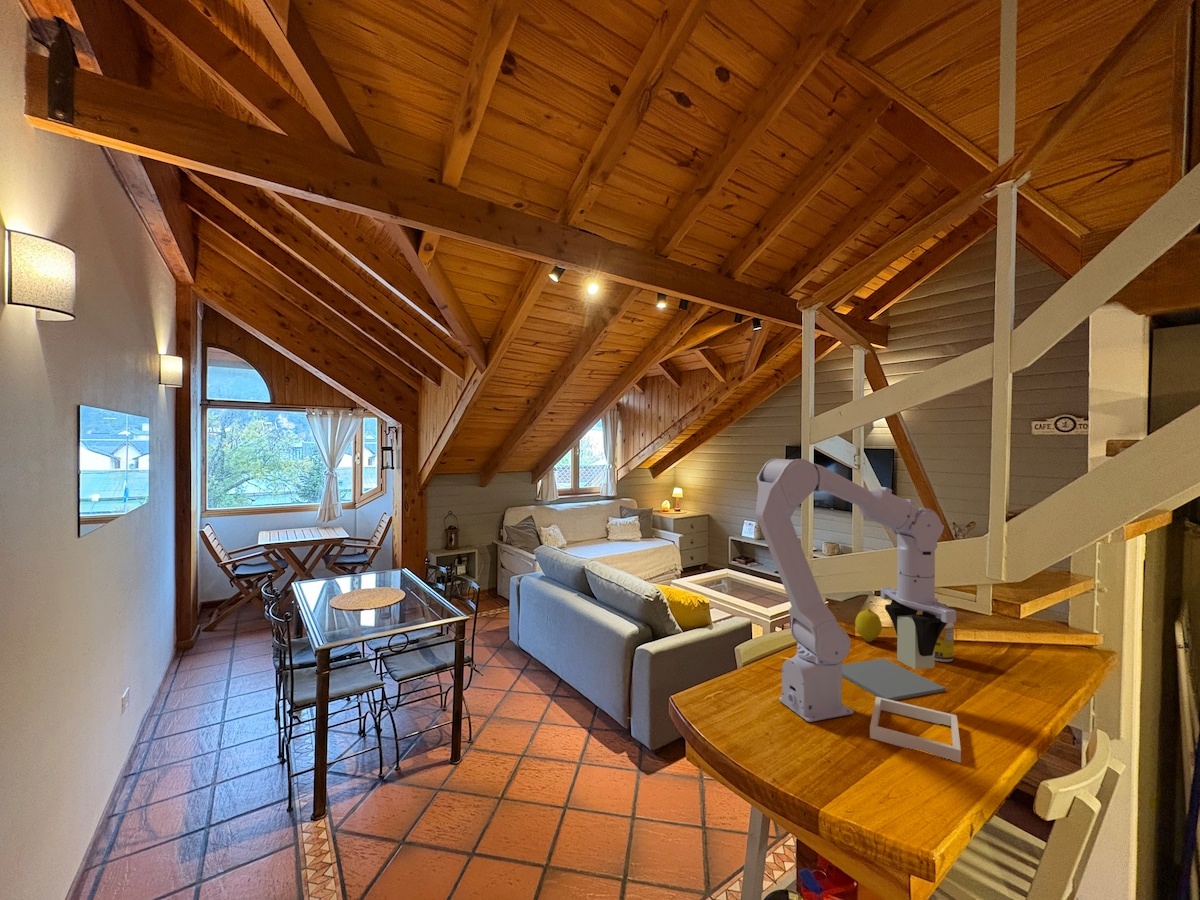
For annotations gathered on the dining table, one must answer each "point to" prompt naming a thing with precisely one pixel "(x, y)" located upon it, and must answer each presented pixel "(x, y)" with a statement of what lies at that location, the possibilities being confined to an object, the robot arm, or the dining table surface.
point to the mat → (888, 680)
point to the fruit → (868, 625)
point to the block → (911, 645)
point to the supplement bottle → (945, 644)
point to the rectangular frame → (910, 740)
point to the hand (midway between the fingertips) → (915, 650)
